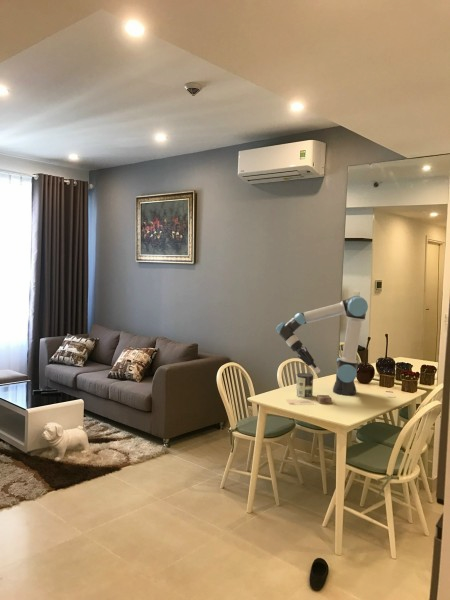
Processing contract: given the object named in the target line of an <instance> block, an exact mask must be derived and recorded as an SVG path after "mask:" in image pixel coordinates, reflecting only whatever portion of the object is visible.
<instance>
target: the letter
mask: <svg viewBox="0 0 450 600" xmlns="http://www.w3.org/2000/svg"><path fill="white" fill-rule="evenodd" d="M285 401H286V402H287V404H288V405H289V406H317V405H316V403H315V402H314V401H313V400H312V399H285Z"/></svg>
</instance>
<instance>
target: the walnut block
mask: <svg viewBox="0 0 450 600" xmlns="http://www.w3.org/2000/svg"><path fill="white" fill-rule="evenodd" d="M332 400H333V399H332V396H330V395H327V394H326V395H325V394H317V395H316V401H317V402H318V404H320V405H332Z"/></svg>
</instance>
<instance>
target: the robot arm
mask: <svg viewBox="0 0 450 600" xmlns="http://www.w3.org/2000/svg"><path fill="white" fill-rule="evenodd" d="M368 305H369V304H368V302H367V300H366V299H365V298H364V297H361V296H359V295H354V296H351V297H349V298H347V299H344V300H341V301H340V302H338V303H335V304H331V305H327V306H324V307H319V308H316V309H312V310H308V311H303V312H298V313H296V314H294V315H293V316H292V317H291V318H290V320H288V321H287V322H285V321H284V322H283V321H282V322H281V323H279V324H278V325H277V326H276V328H275V331H276V332H277V333H278V335H279V336H280V337H281V338H282V340H283V341H284V342H285V343H286V344H287V346H288V347H290V349H291V350H292V351H293V352H294V353H295V352H296V354H298V355H297V357H298V358H299V359H300V360H301V361H302V362H303V363H304V364H305V365H306V366H307V367H310V368H311V369H312V370H313V371H314V372H315V374H319V373H320V372H321V369H320V368H319V367H318V366H317V365H316V363H315V362H314V361H315V359H314V358H313V356H312V355H311V353H310V352H309V350H308V349H307V347H304V346H303V345H304V344H303V342H302V341H301V340H299V338H298V336H297V335H296V334H295V332H296V331H297V330H298V329H299V328H301V327H302V326H303V325H306V324H309V323H313V322H318V321H322V320H325V319H328V318H333V317H336V316H341V315H345V318H347V323H346V329H345V335H344V336H345V337H344V343H343V349H342V354H341V357H337V359H336V373H335V375H336V376H335V382H334V384H333V387H332V392H333V393H335V394H338V395H343V396H353V395H356V394H357V387H356V384H355V379H356V378H357V375H358V373H357V369H358V363H359V361H358V360H357V355H358V354H357V353H358V350H359V349H358V347H359V342H360V337H361V336H360V335H361V330H362V329H361V328H362V324H363V323H362V322H364V321H365V320H366V314H367V312H368V307H369V306H368Z"/></svg>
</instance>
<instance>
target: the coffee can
mask: <svg viewBox="0 0 450 600" xmlns="http://www.w3.org/2000/svg"><path fill="white" fill-rule="evenodd" d="M313 386H314V374H311V373H307V372H306V373H305V372H301V373H296V395H295V396H296V397H297V398H299V399H311V398H313V391H314V390H313V389H314V387H313Z"/></svg>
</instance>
